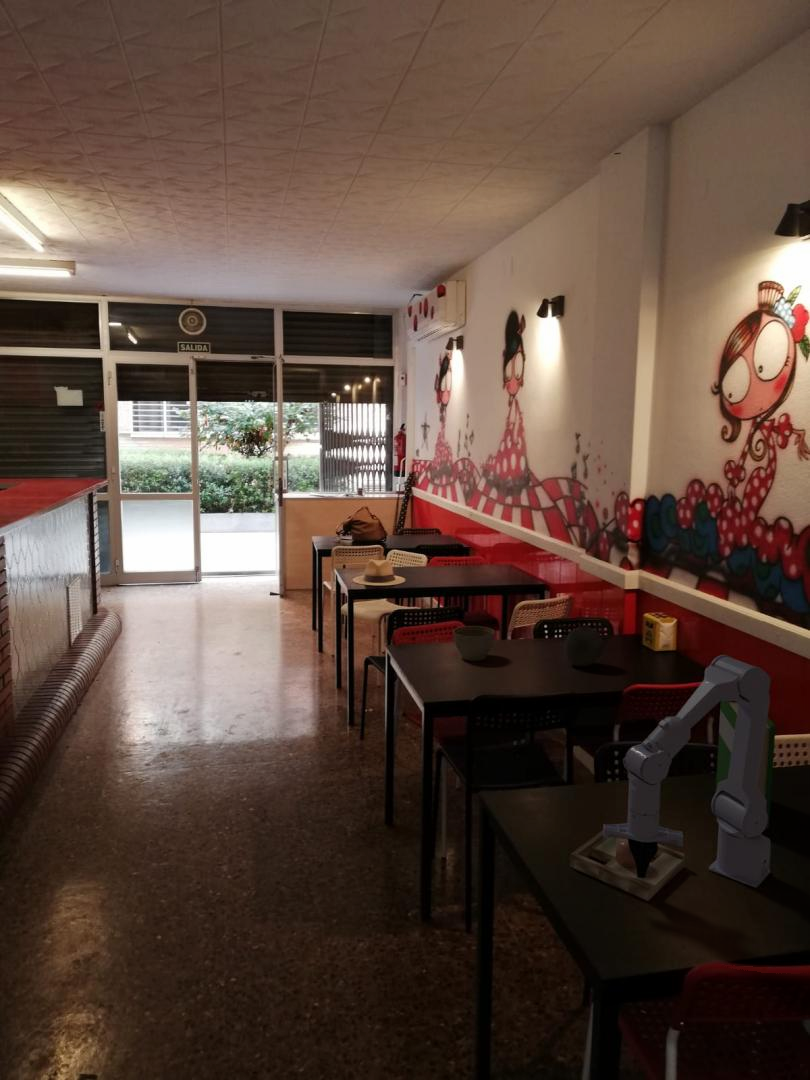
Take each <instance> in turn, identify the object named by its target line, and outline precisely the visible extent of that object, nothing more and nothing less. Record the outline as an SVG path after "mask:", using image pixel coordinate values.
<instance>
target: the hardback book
mask: <svg viewBox="0 0 810 1080" xmlns="http://www.w3.org/2000/svg"><path fill="white" fill-rule="evenodd" d="M719 707H720V708H719V726H718V727H719V728H718V745H717V747H718V748H717V762H716V763H717V764H716V779H715V792H716V791H717V787H718V783H719V782H721V781H724V780H726V779H728V773H729V767H730V760H731V753H732V746H733V739H734V732H735V725H736V719H737V712H738V703H737V702H736V701H720V706H719ZM775 739H776V725H775V724H774V723H773V721H772V720H771V719H770V718H769V716H768V717H767V724H766V731H765V737H764V744H763V751H762V757H761V764H760V771H759V777H758V784H757V786H758V788H759V789H760V791H761V793H762V794H763V796H764V797H765V799H766V801H767V804H766V812H767V815H768V822H767V826H766V828H765V830H767V829H770V819H771V818H770V817H771V815H770V814H771V801H772V800H771V799H772V787H773V786H772V785H773V772H774V771H773V769H774V753H775Z"/></svg>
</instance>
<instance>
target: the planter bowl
mask: <svg viewBox="0 0 810 1080" xmlns="http://www.w3.org/2000/svg"><path fill="white" fill-rule="evenodd" d="M452 634H453V639H454V644H455V647H456V649H457V651H458V652H459V654H460V655H461V658H462V659H463V660H465V661H471V662H472V661H473V662H477V661H478V662H479V661H483V660H485V659H487V655H488V654H489V652H490V651H491V649H492V647H493V645H494V639H495V634H496V632H495V630H494V629H492V628H490V627H486V626H480V625H479V626H478V625H468V626H460V627H456V628H455V629H453V631H452Z"/></svg>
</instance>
